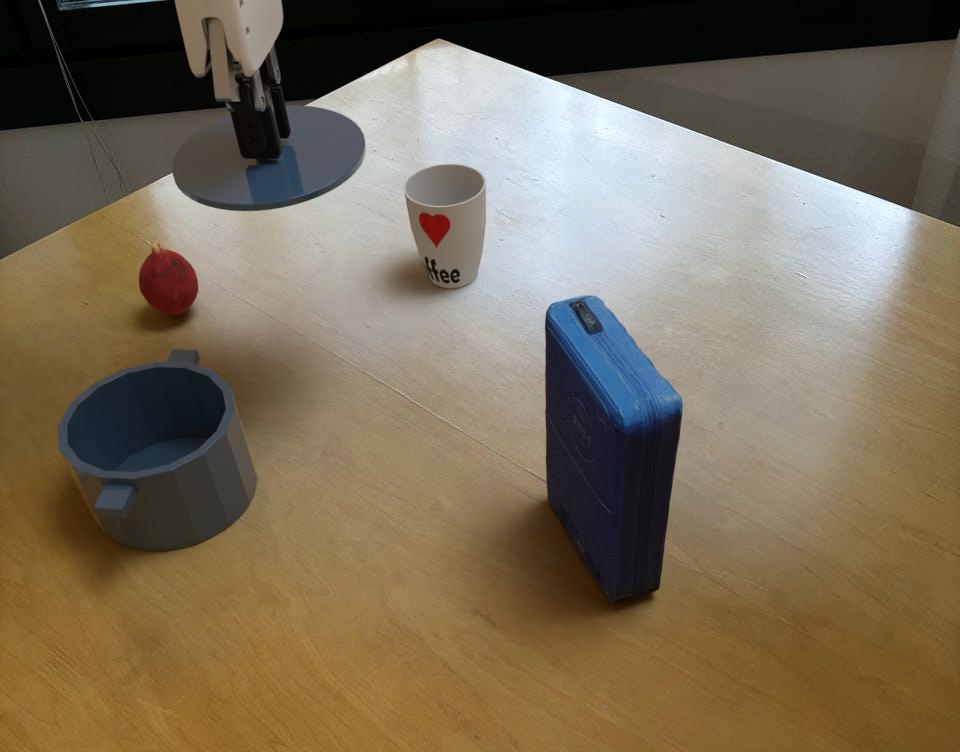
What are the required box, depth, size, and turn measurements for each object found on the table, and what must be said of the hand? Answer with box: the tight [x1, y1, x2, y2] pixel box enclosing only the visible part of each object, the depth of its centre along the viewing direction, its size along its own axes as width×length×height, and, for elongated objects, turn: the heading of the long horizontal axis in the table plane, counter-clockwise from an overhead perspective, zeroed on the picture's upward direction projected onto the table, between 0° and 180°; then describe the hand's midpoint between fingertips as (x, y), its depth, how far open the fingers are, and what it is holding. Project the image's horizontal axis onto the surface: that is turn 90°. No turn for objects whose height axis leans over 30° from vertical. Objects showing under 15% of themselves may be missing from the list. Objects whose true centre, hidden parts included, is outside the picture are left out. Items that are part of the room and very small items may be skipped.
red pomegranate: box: [138, 242, 199, 316], centre depth 109 cm, size 6×6×8 cm
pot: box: [57, 348, 258, 552], centre depth 92 cm, size 15×20×8 cm
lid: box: [171, 83, 367, 212], centre depth 86 cm, size 16×16×6 cm
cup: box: [403, 163, 487, 289], centre depth 110 cm, size 8×8×10 cm
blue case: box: [544, 294, 684, 605], centre depth 80 cm, size 14×5×20 cm, turn 21°
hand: (266, 145), depth 87 cm, fingers closed on lid, 2 cm apart
